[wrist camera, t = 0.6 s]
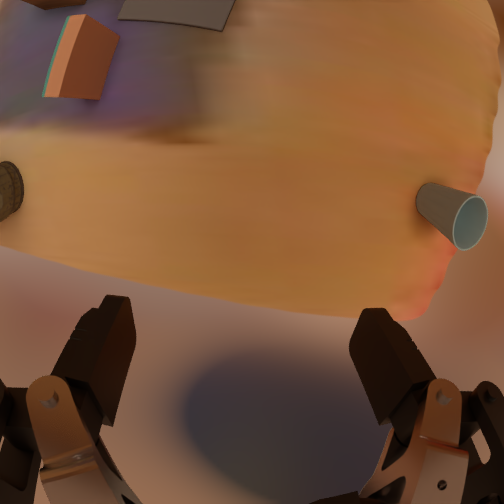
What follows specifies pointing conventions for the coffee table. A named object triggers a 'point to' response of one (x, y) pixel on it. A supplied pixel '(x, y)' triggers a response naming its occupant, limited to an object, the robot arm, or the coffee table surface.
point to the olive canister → (10, 189)
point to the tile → (80, 59)
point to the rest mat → (179, 12)
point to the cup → (454, 213)
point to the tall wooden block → (54, 3)
